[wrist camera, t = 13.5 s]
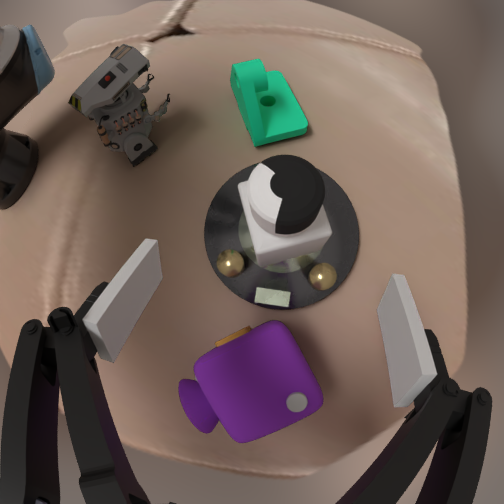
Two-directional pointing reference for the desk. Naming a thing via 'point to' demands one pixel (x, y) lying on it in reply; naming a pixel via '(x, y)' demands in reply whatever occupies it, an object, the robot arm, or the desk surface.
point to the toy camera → (251, 384)
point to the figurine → (120, 103)
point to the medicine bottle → (285, 209)
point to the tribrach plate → (285, 272)
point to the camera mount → (266, 103)
